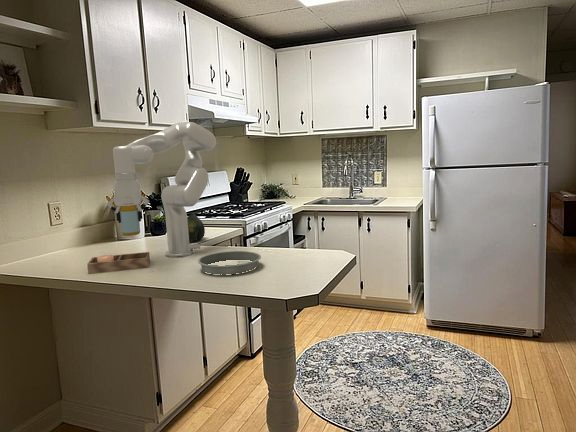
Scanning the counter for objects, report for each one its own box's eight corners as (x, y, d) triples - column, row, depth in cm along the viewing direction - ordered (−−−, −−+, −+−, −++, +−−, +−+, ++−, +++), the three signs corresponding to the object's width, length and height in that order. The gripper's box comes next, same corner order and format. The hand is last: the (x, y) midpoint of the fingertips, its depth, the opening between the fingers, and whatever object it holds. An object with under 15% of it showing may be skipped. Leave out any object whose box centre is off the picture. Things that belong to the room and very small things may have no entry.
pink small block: (115, 266, 182) (114, 254, 181) (113, 269, 176) (112, 257, 175) (99, 267, 180) (98, 255, 180) (97, 271, 175) (95, 259, 174)
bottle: (129, 236, 174) (126, 198, 172) (118, 235, 178) (114, 198, 176) (144, 233, 180) (140, 196, 178) (132, 232, 184) (129, 196, 182)
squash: (168, 234, 224) (186, 211, 223) (175, 230, 239) (192, 208, 238) (190, 251, 225) (208, 229, 224) (196, 246, 240) (213, 225, 239)
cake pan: (245, 279, 159) (244, 267, 158) (186, 275, 167) (185, 264, 166) (271, 262, 181) (270, 251, 181) (218, 259, 190) (217, 249, 189)
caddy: (150, 263, 188) (149, 251, 187) (148, 270, 177) (147, 257, 176) (93, 269, 183) (92, 257, 182) (88, 276, 172) (87, 263, 171)
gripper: (149, 175, 181) (152, 218, 184) (103, 178, 177) (108, 222, 180) (148, 176, 174) (152, 221, 177) (100, 179, 170) (105, 225, 173)
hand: (130, 221), depth 178 cm, fingers closed on bottle, 7 cm apart
